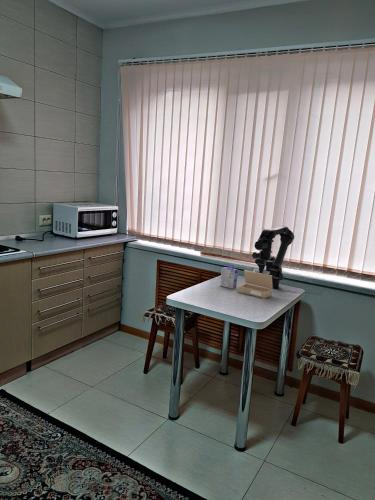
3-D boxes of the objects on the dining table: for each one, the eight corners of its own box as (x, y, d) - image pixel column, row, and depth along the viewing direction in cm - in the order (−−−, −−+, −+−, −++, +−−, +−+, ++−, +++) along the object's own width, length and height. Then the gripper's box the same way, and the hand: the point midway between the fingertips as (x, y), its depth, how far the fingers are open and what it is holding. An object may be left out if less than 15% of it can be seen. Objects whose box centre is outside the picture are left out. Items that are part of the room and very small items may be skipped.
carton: (245, 289, 248) (245, 283, 248) (271, 295, 238) (272, 289, 237) (237, 292, 240) (238, 286, 239) (264, 298, 230) (265, 292, 229)
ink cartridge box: (236, 287, 252) (239, 265, 249) (233, 289, 247) (235, 266, 245) (223, 284, 257) (225, 263, 255) (219, 285, 252) (221, 264, 250)
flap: (245, 282, 247) (249, 277, 252) (272, 288, 237) (276, 283, 241) (244, 270, 243) (248, 265, 247) (271, 275, 232) (275, 270, 237)
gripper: (261, 246, 255) (258, 269, 258) (248, 248, 240) (245, 272, 243) (277, 248, 249) (274, 272, 252) (265, 251, 234) (262, 276, 237)
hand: (263, 273), depth 246 cm, fingers open, 9 cm apart
